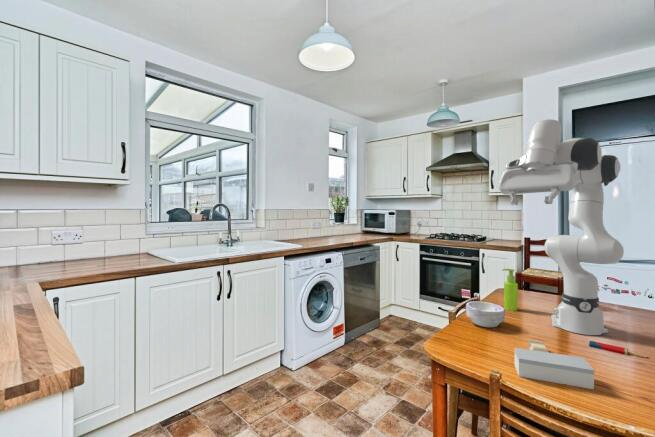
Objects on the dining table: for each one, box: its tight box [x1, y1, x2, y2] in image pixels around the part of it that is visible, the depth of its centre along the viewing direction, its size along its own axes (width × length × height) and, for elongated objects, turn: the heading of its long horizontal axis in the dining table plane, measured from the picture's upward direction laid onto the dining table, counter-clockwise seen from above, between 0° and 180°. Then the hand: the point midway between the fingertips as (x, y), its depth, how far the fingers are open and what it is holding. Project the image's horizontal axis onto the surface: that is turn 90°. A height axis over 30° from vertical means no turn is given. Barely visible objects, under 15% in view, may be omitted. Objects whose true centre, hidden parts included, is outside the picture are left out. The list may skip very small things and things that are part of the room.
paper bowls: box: [465, 300, 506, 328], centre depth 138 cm, size 15×15×8 cm
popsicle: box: [588, 340, 648, 359], centre depth 111 cm, size 5×2×15 cm
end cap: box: [513, 347, 595, 390], centre depth 95 cm, size 8×18×5 cm, turn 67°
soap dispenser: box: [501, 268, 519, 312], centre depth 159 cm, size 6×7×20 cm
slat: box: [528, 339, 550, 353], centre depth 107 cm, size 16×4×3 cm, turn 157°
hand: (530, 203), depth 96 cm, fingers open, 8 cm apart
